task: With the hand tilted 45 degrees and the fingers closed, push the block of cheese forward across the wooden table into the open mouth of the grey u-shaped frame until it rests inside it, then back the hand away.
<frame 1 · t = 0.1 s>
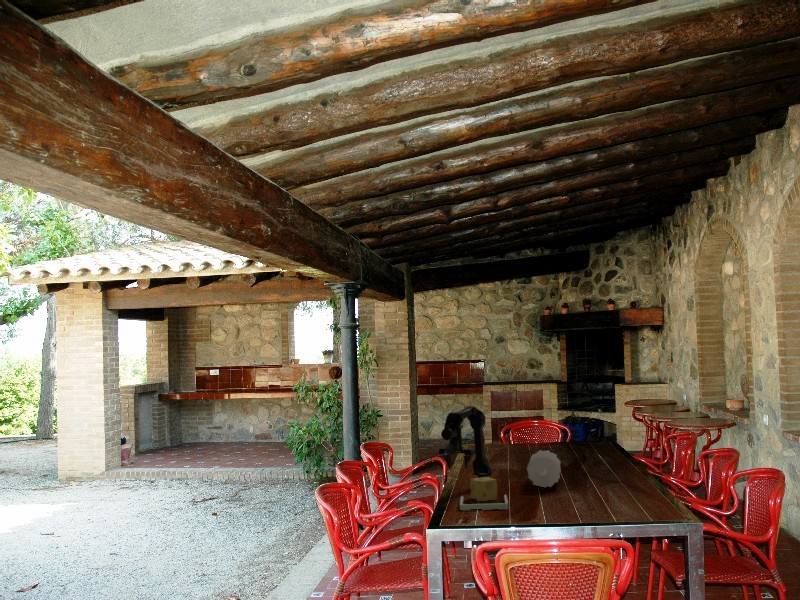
hand: (457, 468, 357), 15 cm above the table, tool pointing down, fingers open, 9 cm apart
cheese: (484, 499, 351), on the table
grey u-shaped frame: (484, 505, 338), on the table
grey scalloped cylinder: (545, 485, 377), on the table
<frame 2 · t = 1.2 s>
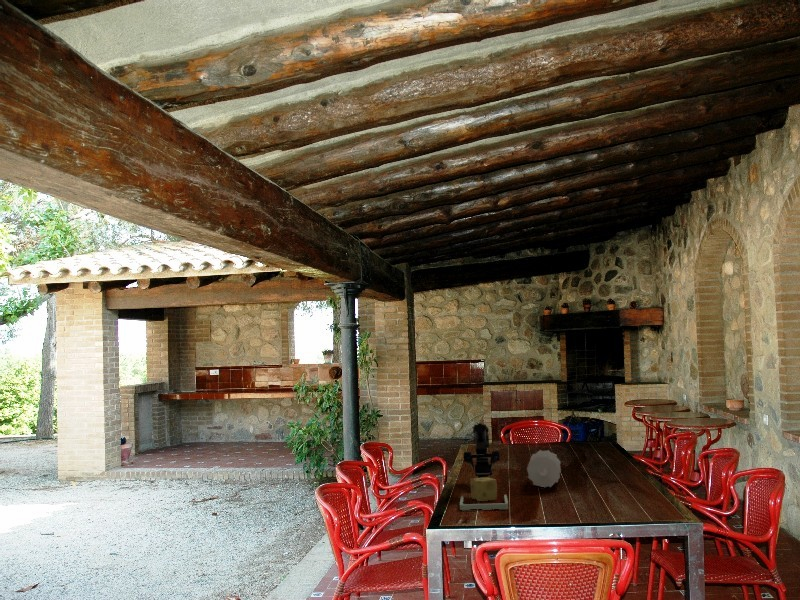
hand: (482, 470, 362), 12 cm above the table, tool tilted 45°, fingers open, 8 cm apart
nothing on the table moved.
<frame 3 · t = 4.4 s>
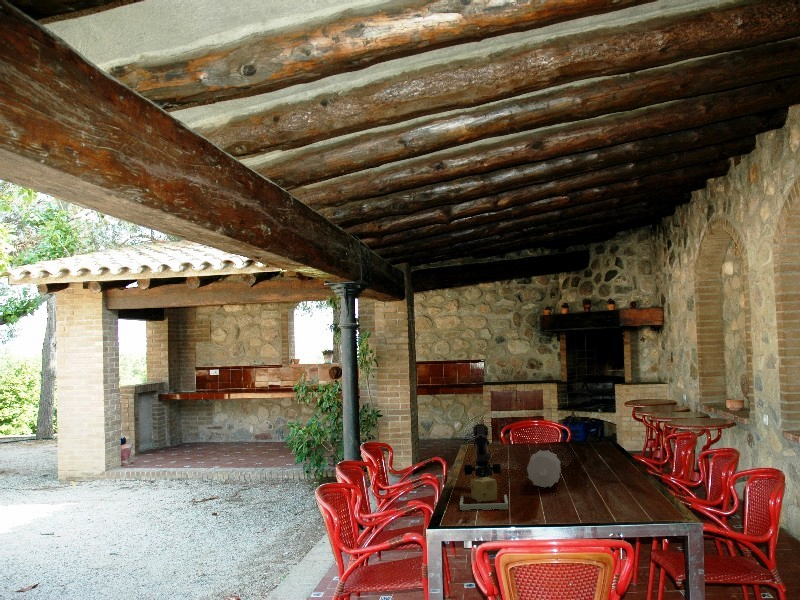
hand: (483, 483, 356), 7 cm above the table, tool tilted 45°, fingers closed
cheese: (484, 499, 350), on the table, touching gripper
everything else where it was.
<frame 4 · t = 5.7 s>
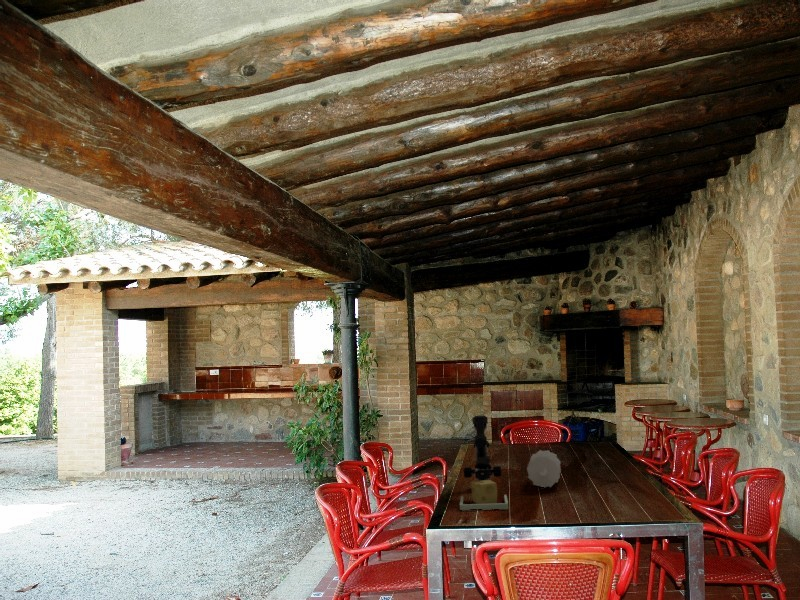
hand: (483, 486, 349), 7 cm above the table, tool tilted 45°, fingers closed
cheese: (484, 502, 343), on the table, touching gripper
everything else where it was.
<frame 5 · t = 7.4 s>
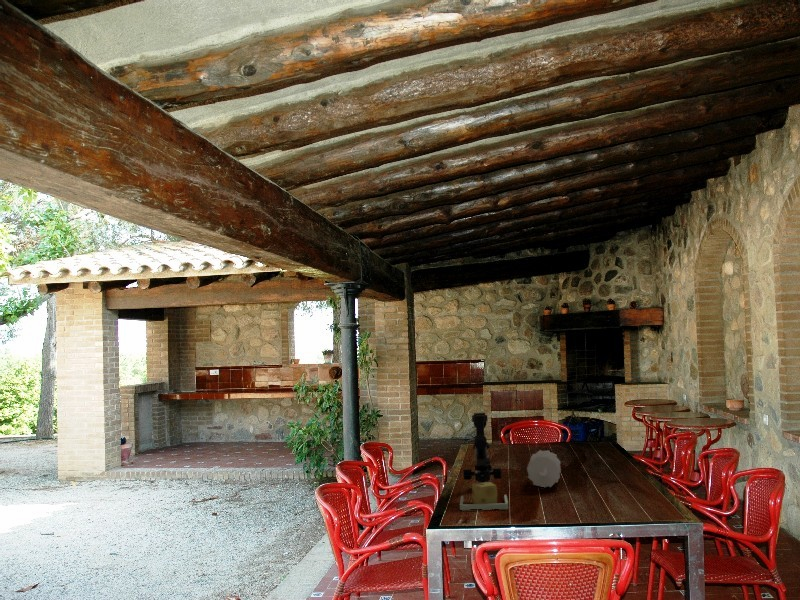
hand: (483, 488, 344), 7 cm above the table, tool tilted 45°, fingers closed
cheese: (485, 505, 338), on the table
everything else where it was.
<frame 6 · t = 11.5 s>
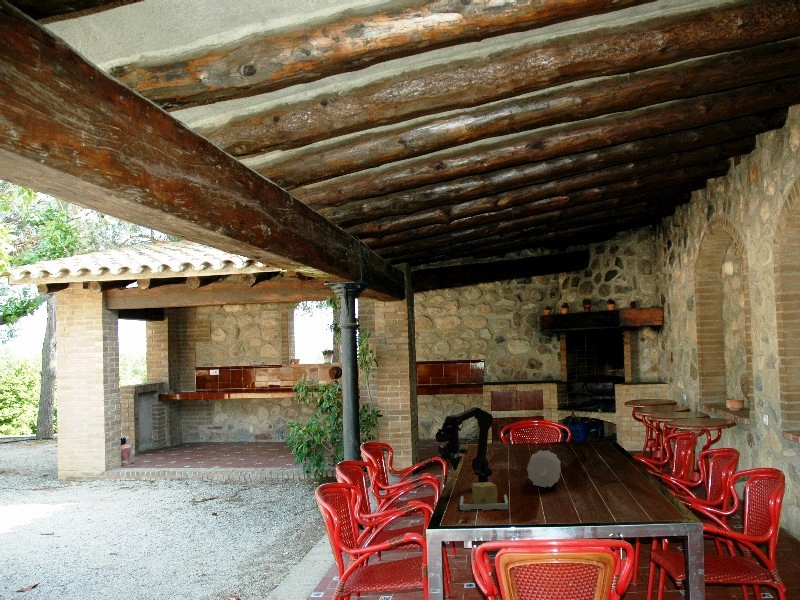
hand: (455, 470, 367), 12 cm above the table, tool pointing down, fingers closed
nothing on the table moved.
at the end: cheese 0.7 cm from the grey u-shaped frame (horizontally); cheese moved 13.0 cm from its start; cheese on the table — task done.
